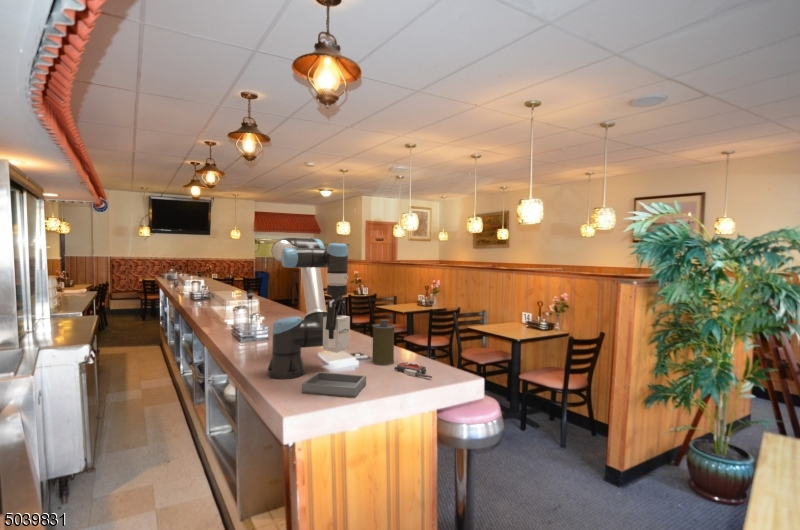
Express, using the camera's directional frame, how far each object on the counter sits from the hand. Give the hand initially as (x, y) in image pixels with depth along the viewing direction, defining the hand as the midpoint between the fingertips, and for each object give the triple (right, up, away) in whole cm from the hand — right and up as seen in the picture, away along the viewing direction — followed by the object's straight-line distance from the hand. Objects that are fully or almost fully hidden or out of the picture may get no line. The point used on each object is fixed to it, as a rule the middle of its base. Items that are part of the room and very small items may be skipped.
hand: (336, 344), depth 153 cm
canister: (+16, -16, +39) cm, 45 cm away
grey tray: (0, -17, +1) cm, 17 cm away
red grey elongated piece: (+31, -17, +23) cm, 42 cm away
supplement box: (0, -2, 0) cm, 2 cm away
